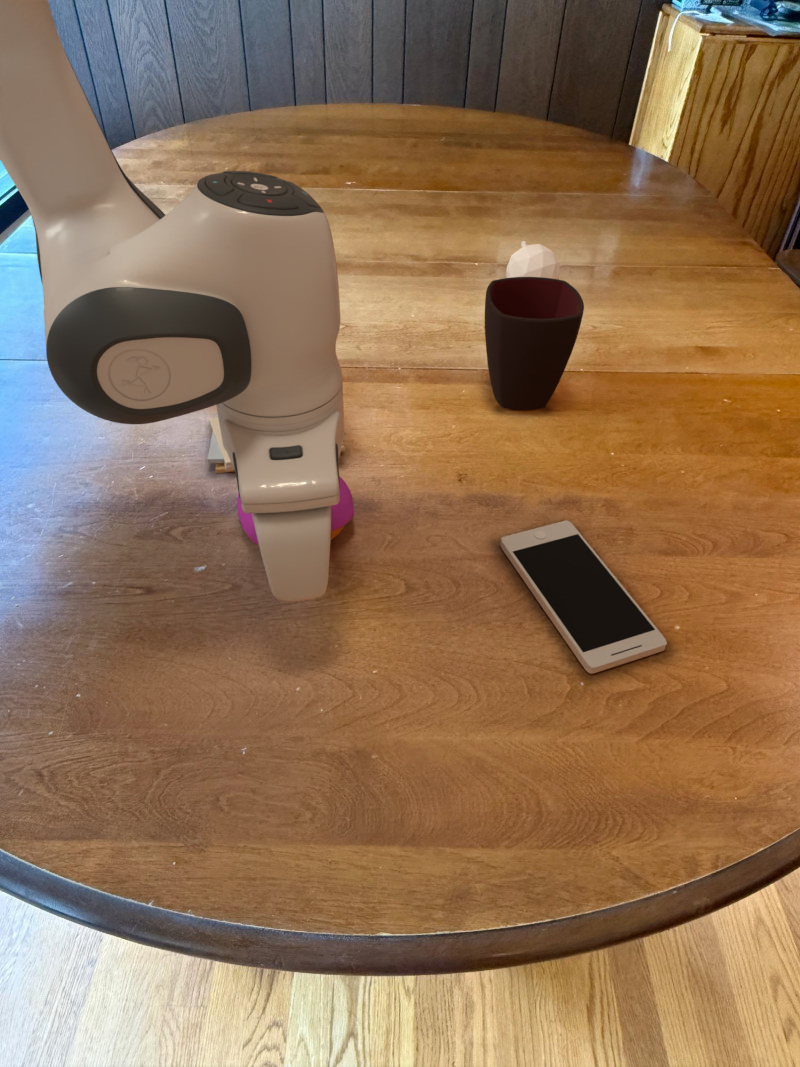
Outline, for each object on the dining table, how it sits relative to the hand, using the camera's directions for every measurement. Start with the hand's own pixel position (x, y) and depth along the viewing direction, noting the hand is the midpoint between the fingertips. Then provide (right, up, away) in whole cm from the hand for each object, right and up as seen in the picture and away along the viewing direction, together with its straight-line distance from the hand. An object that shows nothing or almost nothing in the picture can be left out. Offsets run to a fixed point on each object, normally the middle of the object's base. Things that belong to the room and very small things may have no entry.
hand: (295, 555), depth 65 cm
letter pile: (-4, +11, +15) cm, 19 cm away
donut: (-1, +3, +7) cm, 7 cm away
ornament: (+26, +34, +41) cm, 60 cm away
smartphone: (+24, -3, +1) cm, 24 cm away
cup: (+22, +18, +25) cm, 38 cm away
